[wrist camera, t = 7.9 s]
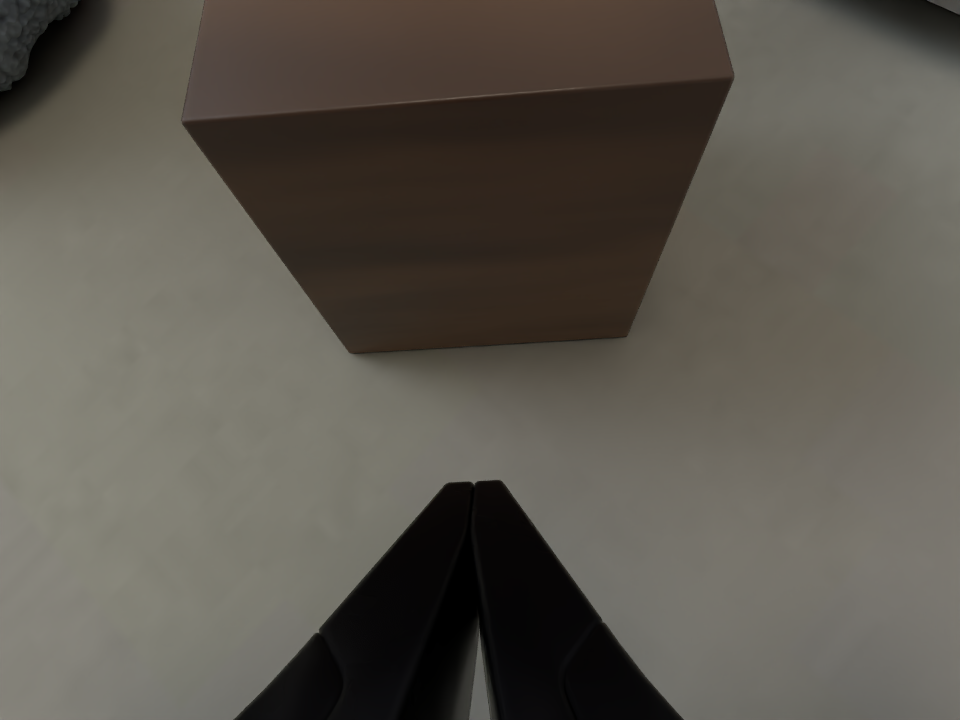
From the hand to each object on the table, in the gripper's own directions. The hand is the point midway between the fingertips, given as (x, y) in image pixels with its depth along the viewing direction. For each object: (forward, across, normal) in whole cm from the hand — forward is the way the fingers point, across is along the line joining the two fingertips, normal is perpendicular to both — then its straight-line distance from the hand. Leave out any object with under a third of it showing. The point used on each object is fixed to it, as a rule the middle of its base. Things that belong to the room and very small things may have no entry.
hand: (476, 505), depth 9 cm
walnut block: (+11, 0, -2) cm, 11 cm away
